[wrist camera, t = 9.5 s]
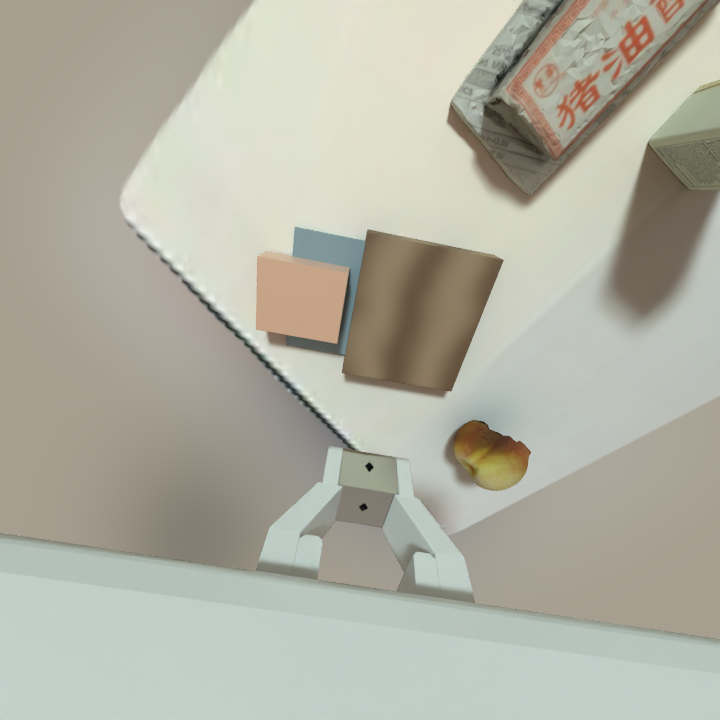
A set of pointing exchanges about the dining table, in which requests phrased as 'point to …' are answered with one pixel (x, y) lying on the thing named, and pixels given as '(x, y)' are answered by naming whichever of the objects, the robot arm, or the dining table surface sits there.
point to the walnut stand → (416, 310)
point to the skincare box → (693, 140)
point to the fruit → (490, 456)
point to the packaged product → (564, 75)
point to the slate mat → (335, 253)
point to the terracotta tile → (300, 296)
